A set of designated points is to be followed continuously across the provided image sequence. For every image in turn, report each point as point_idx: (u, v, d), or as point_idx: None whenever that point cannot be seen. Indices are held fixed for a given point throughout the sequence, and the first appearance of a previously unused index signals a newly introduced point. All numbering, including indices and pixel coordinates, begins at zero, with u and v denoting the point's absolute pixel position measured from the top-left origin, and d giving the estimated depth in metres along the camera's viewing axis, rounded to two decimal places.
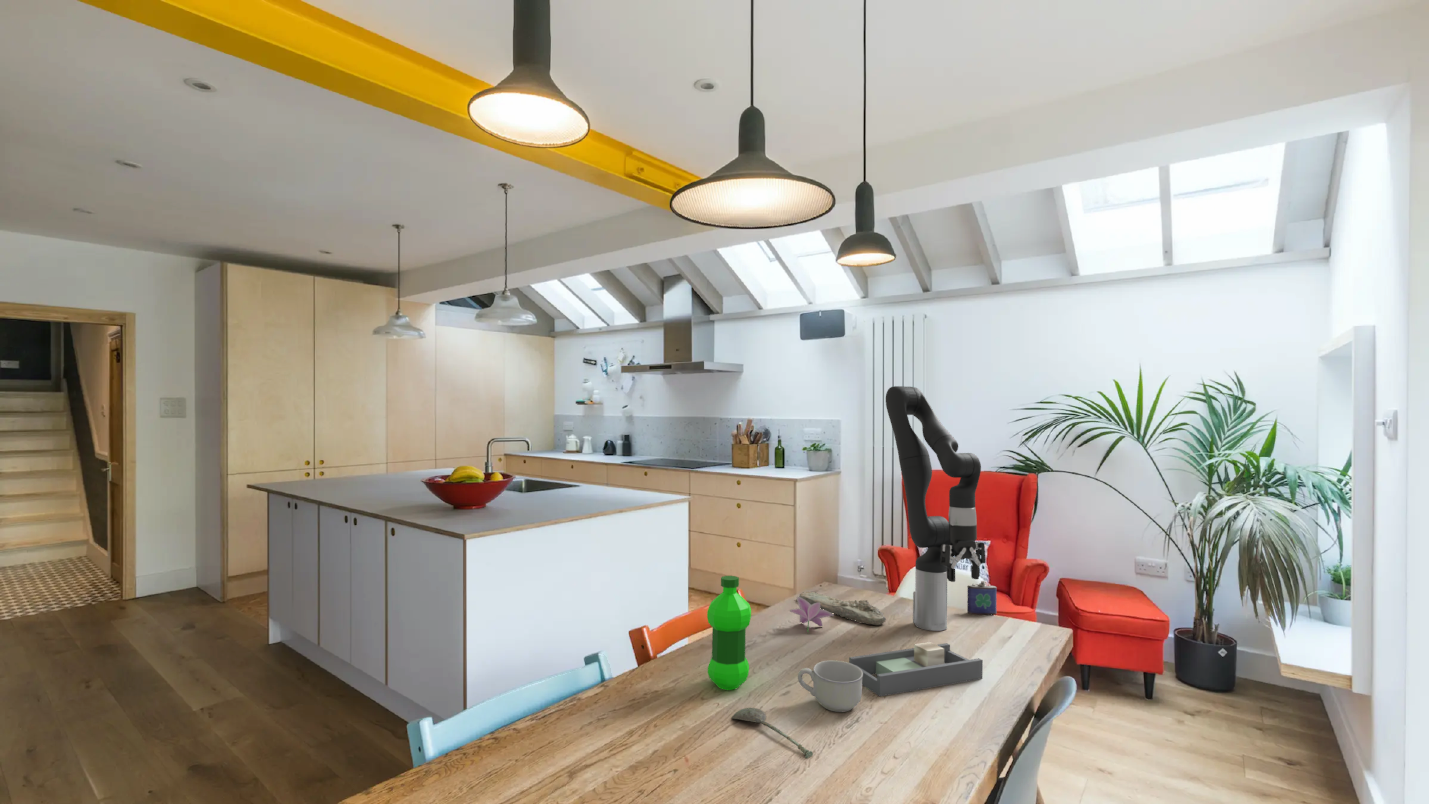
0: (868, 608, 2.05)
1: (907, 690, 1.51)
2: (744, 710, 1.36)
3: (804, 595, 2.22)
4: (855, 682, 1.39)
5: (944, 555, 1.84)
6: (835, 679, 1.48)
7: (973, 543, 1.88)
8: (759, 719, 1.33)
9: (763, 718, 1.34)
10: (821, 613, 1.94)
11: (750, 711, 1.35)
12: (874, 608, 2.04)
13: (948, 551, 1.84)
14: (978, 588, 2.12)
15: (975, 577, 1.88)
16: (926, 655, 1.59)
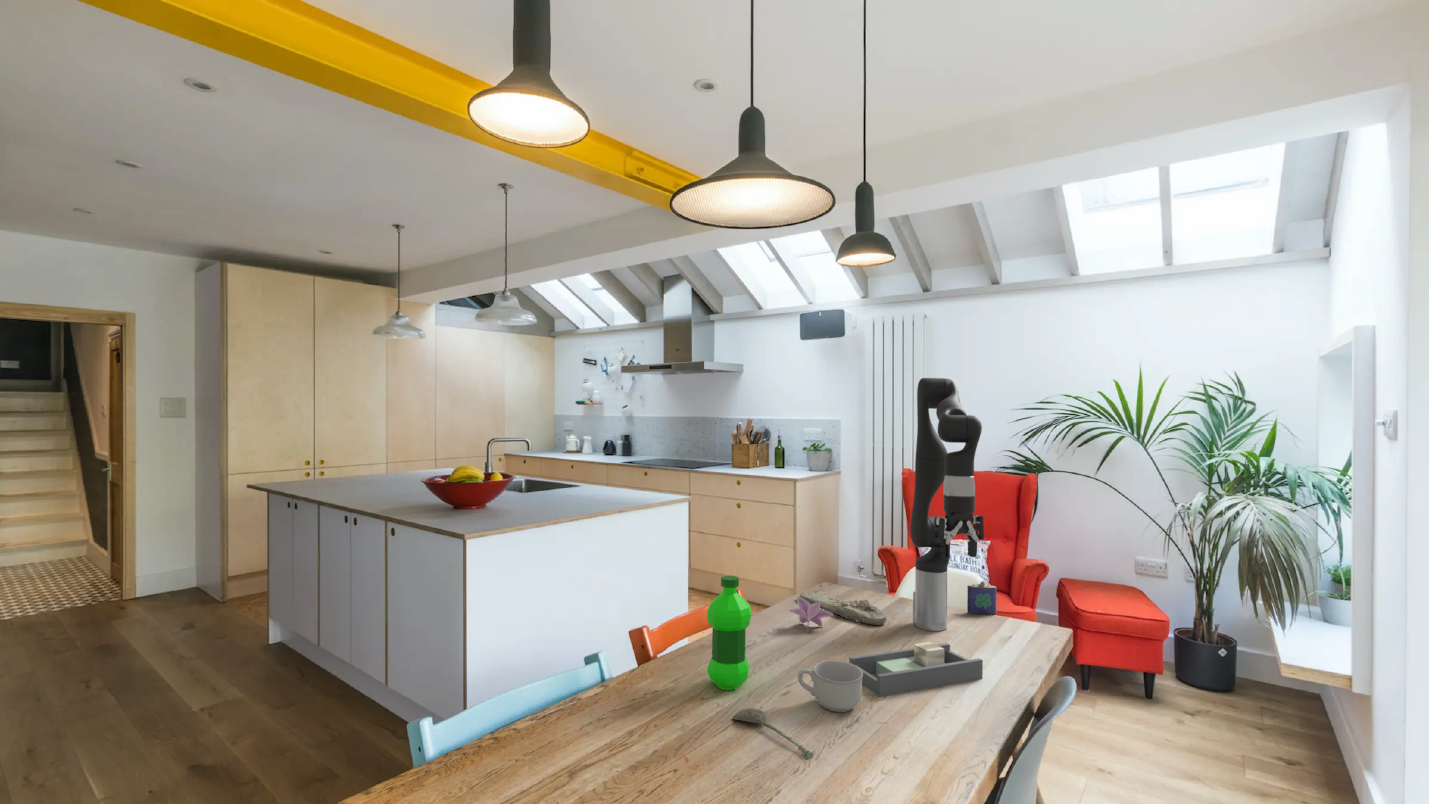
0: (869, 608, 2.05)
1: (907, 690, 1.51)
2: (745, 711, 1.36)
3: (804, 595, 2.22)
4: (855, 682, 1.39)
5: (938, 529, 1.64)
6: (835, 679, 1.48)
7: (971, 516, 1.67)
8: (760, 720, 1.33)
9: (764, 719, 1.34)
10: (821, 613, 1.94)
11: (751, 712, 1.35)
12: (875, 608, 2.04)
13: (942, 525, 1.63)
14: (978, 588, 2.12)
15: (972, 554, 1.67)
16: (926, 655, 1.59)
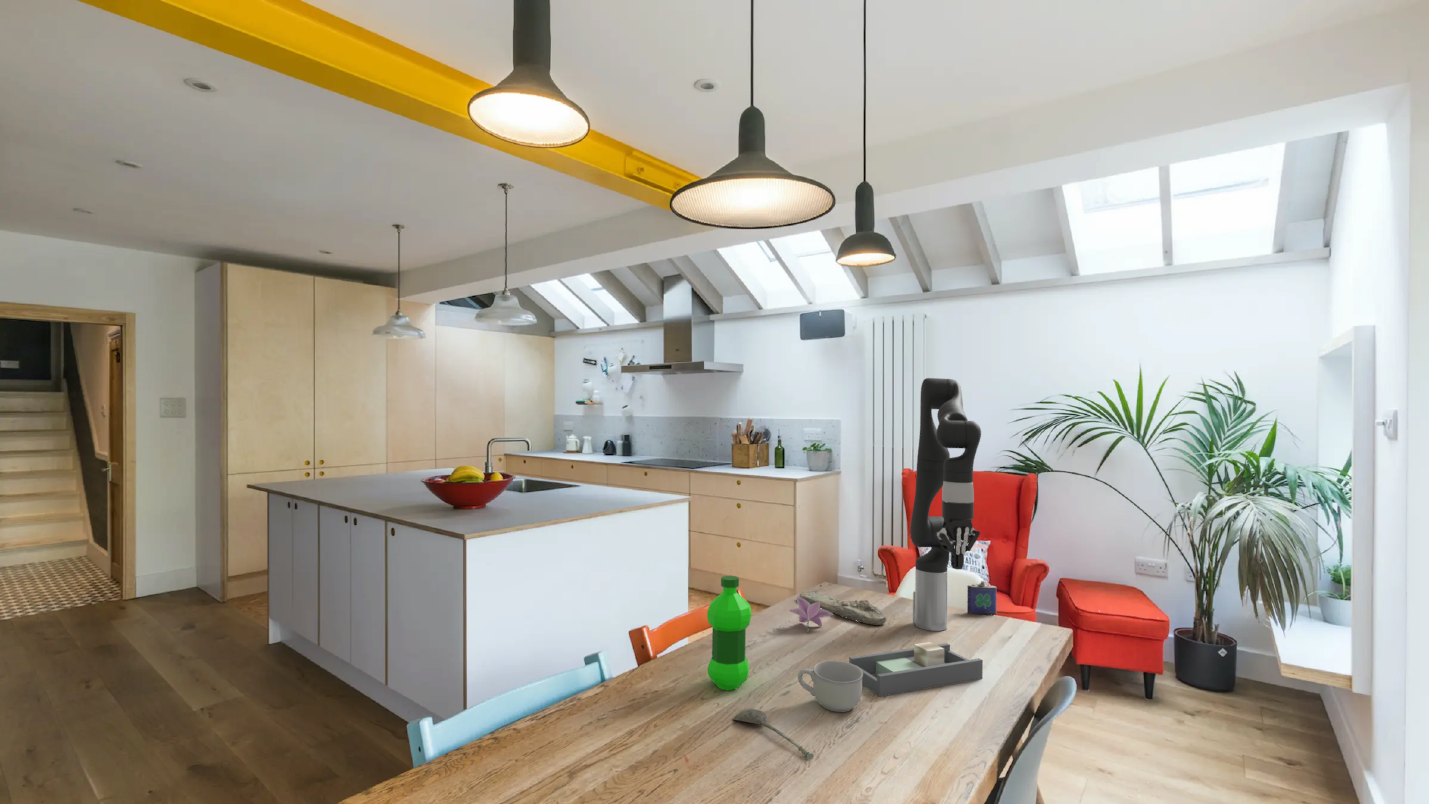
0: (869, 608, 2.05)
1: (907, 690, 1.51)
2: (745, 711, 1.35)
3: (804, 595, 2.22)
4: (855, 682, 1.39)
5: (944, 543, 1.63)
6: (835, 679, 1.48)
7: (971, 523, 1.66)
8: (760, 720, 1.33)
9: (764, 719, 1.33)
10: (821, 613, 1.94)
11: (752, 713, 1.34)
12: (875, 608, 2.04)
13: (945, 539, 1.62)
14: (978, 588, 2.12)
15: None
16: (926, 655, 1.59)
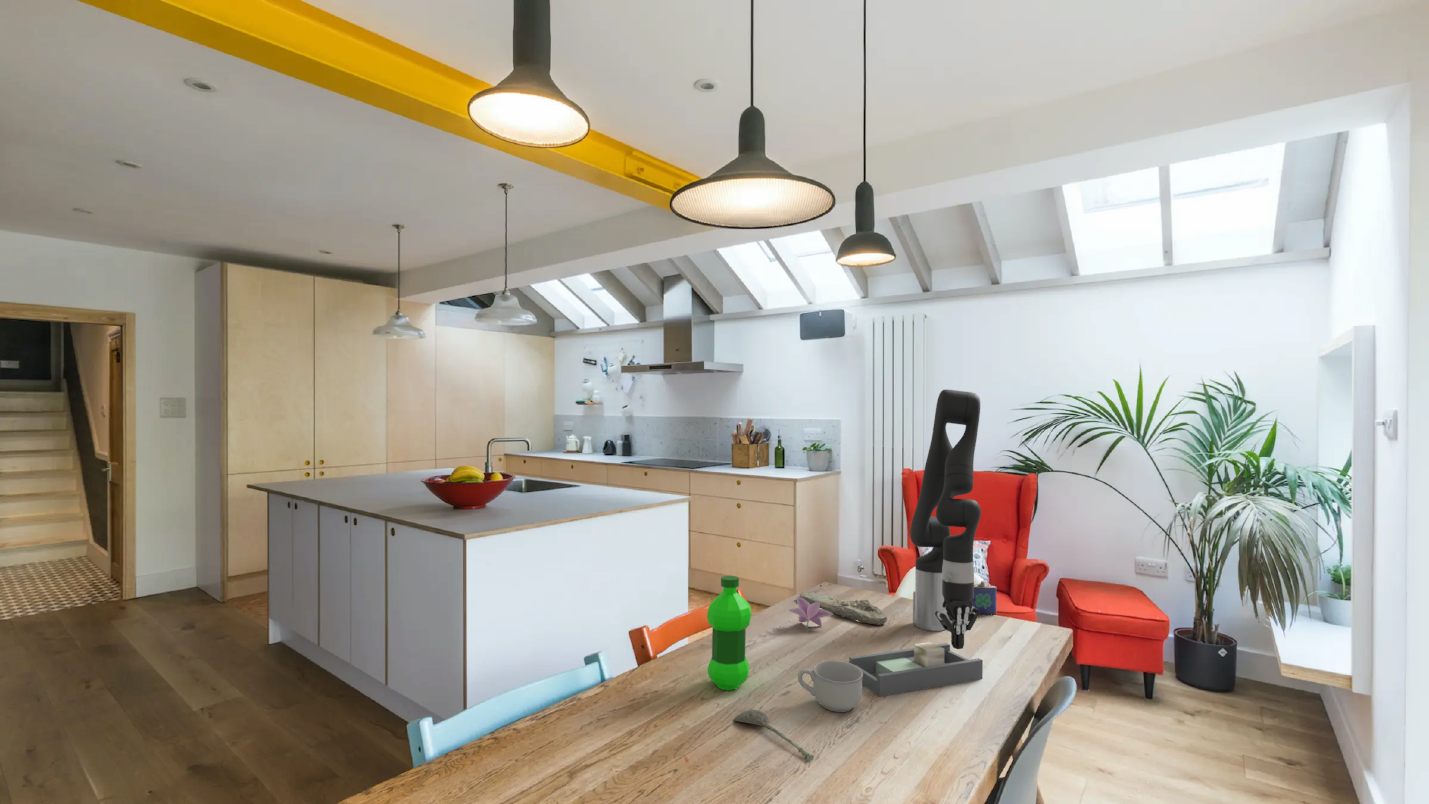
0: (869, 608, 2.05)
1: (907, 690, 1.51)
2: (746, 712, 1.35)
3: (804, 595, 2.22)
4: (855, 682, 1.39)
5: (944, 624, 1.62)
6: (835, 679, 1.48)
7: (971, 602, 1.65)
8: (761, 722, 1.32)
9: (765, 721, 1.33)
10: (821, 613, 1.95)
11: (752, 714, 1.34)
12: (875, 608, 2.04)
13: (945, 619, 1.62)
14: (978, 588, 2.12)
15: None
16: (926, 655, 1.59)
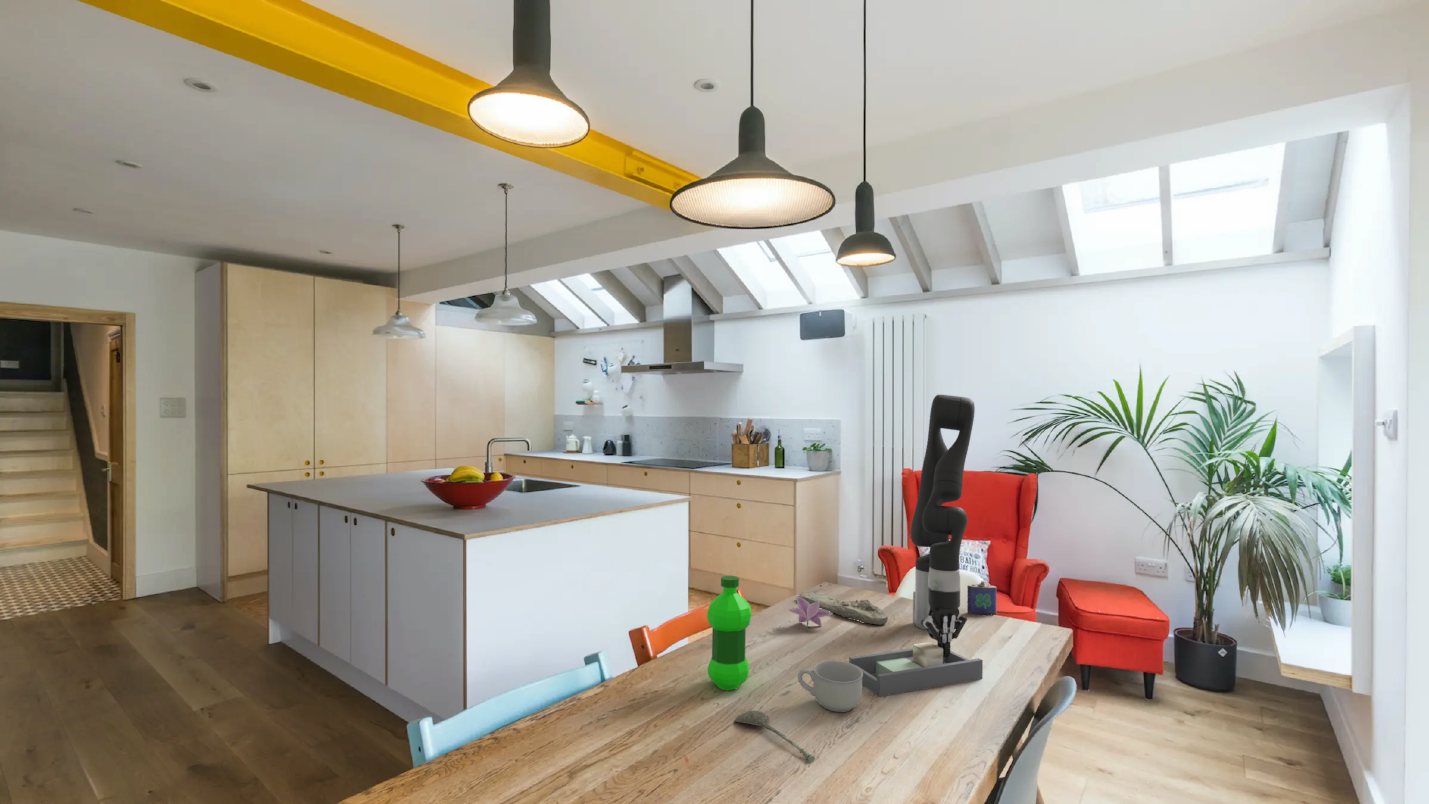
0: (870, 608, 2.05)
1: (907, 690, 1.51)
2: (747, 713, 1.35)
3: (804, 595, 2.22)
4: (855, 682, 1.39)
5: (930, 632, 1.61)
6: (835, 679, 1.48)
7: (957, 610, 1.63)
8: (762, 722, 1.32)
9: (766, 721, 1.32)
10: (821, 613, 1.95)
11: (753, 714, 1.34)
12: (876, 608, 2.05)
13: (931, 628, 1.60)
14: (978, 588, 2.12)
15: None
16: (925, 655, 1.58)
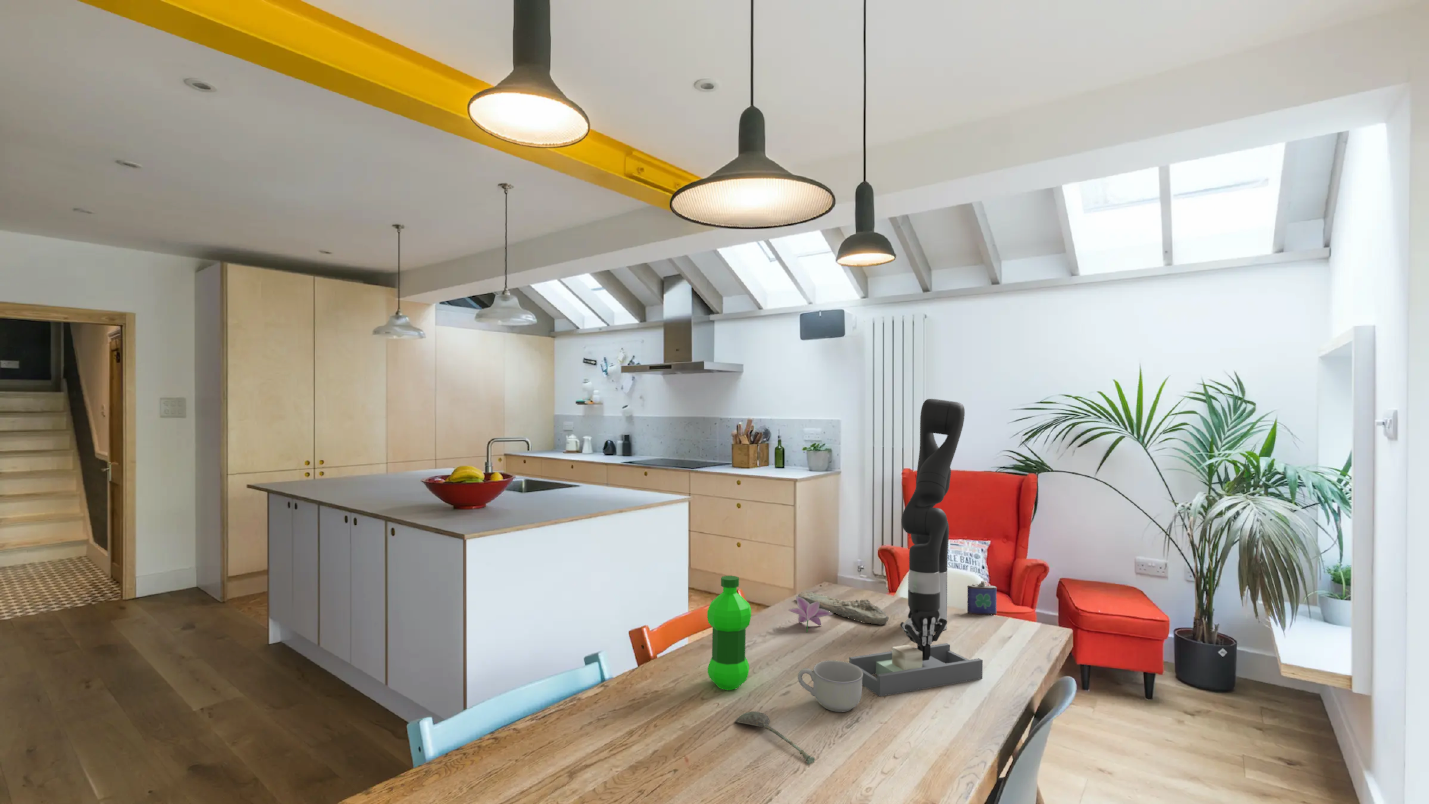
0: (870, 607, 2.05)
1: (907, 690, 1.51)
2: (747, 714, 1.34)
3: (803, 595, 2.22)
4: (855, 682, 1.39)
5: (909, 635, 1.59)
6: (835, 679, 1.48)
7: (938, 612, 1.61)
8: (762, 723, 1.32)
9: (766, 722, 1.32)
10: (820, 613, 1.95)
11: (754, 715, 1.33)
12: (876, 607, 2.05)
13: (911, 630, 1.58)
14: (978, 588, 2.12)
15: None
16: (904, 658, 1.56)
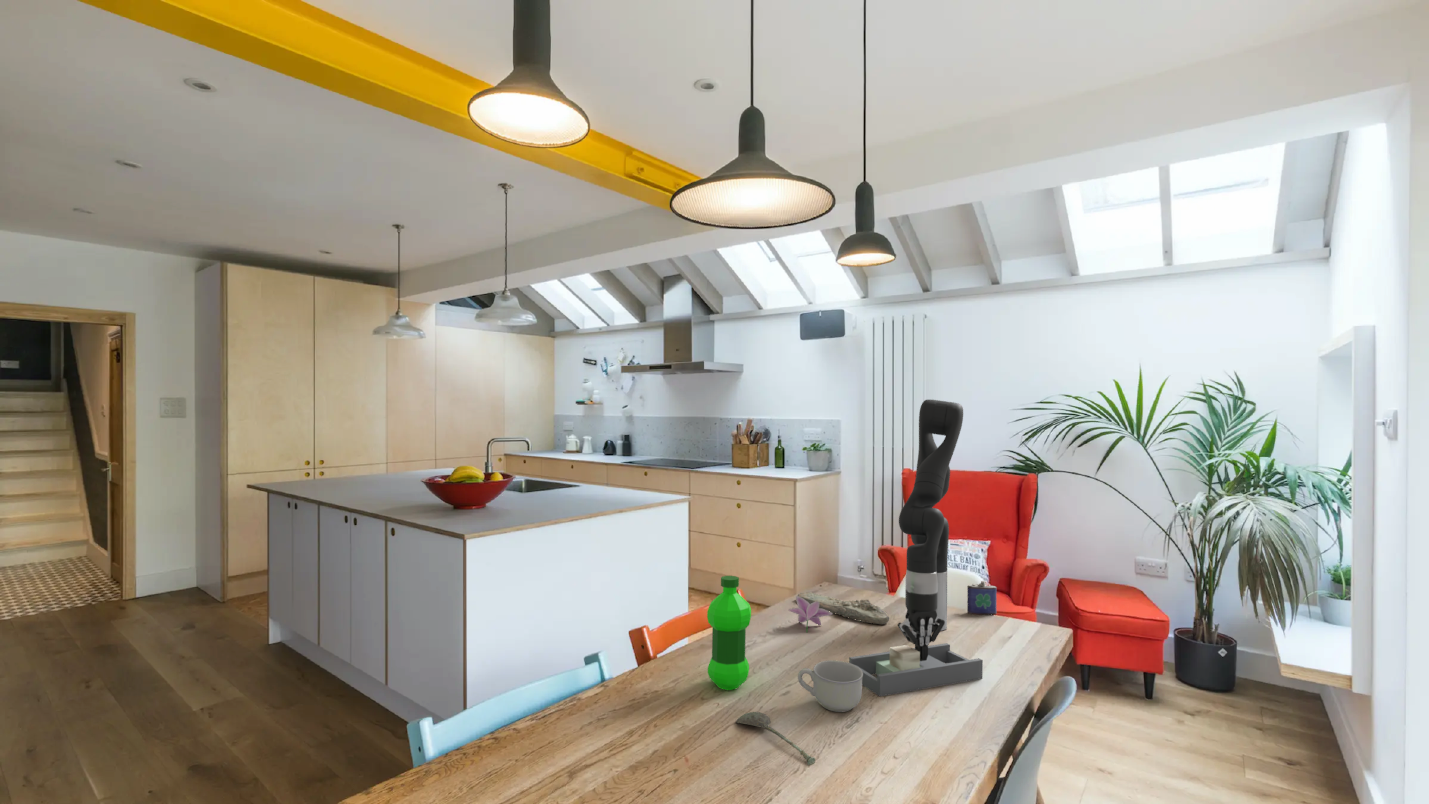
0: (871, 607, 2.05)
1: (907, 690, 1.51)
2: (748, 714, 1.34)
3: (803, 596, 2.21)
4: (855, 682, 1.39)
5: (907, 635, 1.58)
6: (835, 679, 1.48)
7: (935, 612, 1.61)
8: (763, 724, 1.31)
9: (767, 723, 1.32)
10: (820, 612, 1.95)
11: (754, 716, 1.33)
12: (877, 607, 2.05)
13: (908, 631, 1.57)
14: (978, 588, 2.12)
15: None
16: (901, 658, 1.56)
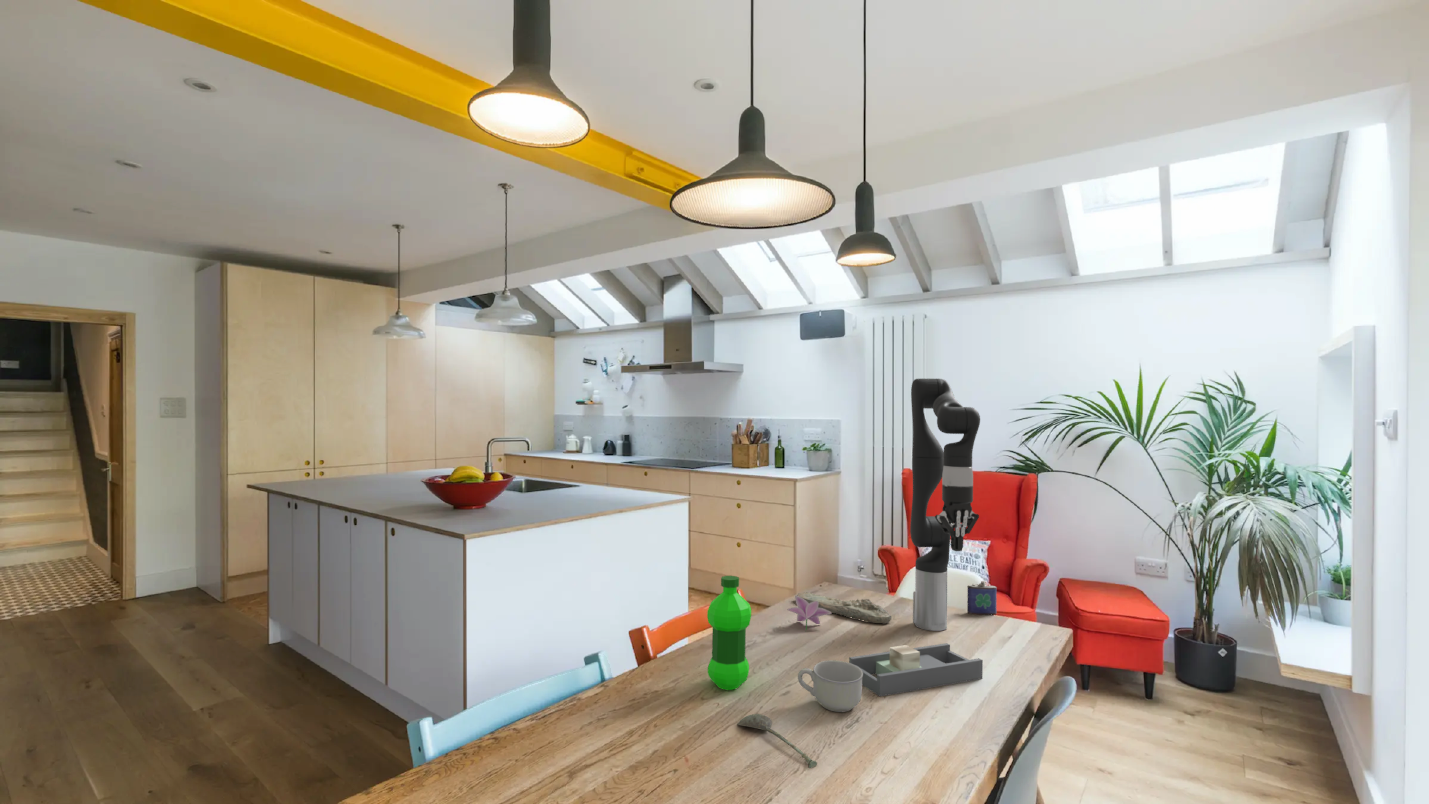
0: (872, 607, 2.06)
1: (907, 690, 1.51)
2: (750, 716, 1.33)
3: (802, 596, 2.21)
4: (855, 682, 1.39)
5: (944, 526, 1.68)
6: (835, 679, 1.48)
7: (970, 506, 1.71)
8: (765, 726, 1.30)
9: (769, 725, 1.31)
10: (819, 612, 1.96)
11: (756, 718, 1.32)
12: (878, 606, 2.06)
13: (945, 521, 1.67)
14: (978, 588, 2.12)
15: None
16: (901, 658, 1.56)
